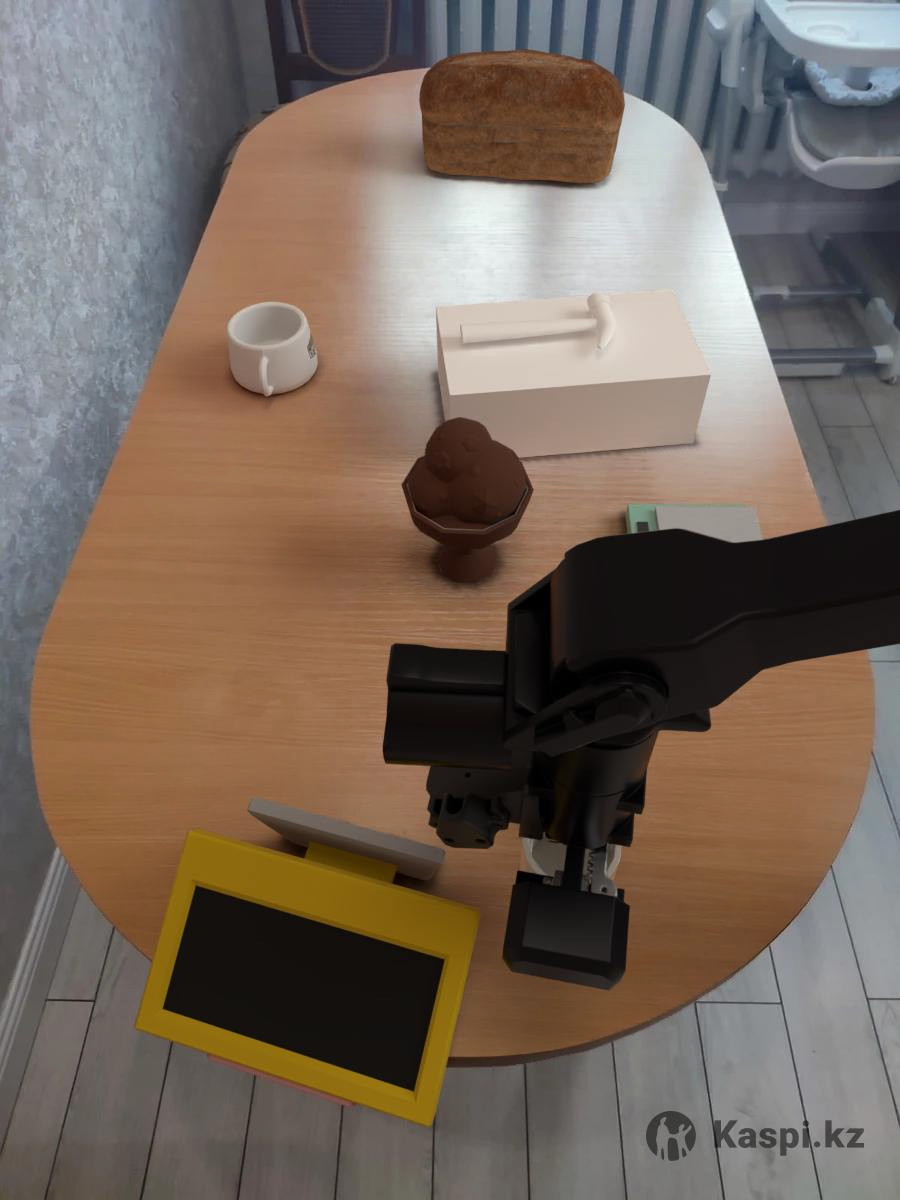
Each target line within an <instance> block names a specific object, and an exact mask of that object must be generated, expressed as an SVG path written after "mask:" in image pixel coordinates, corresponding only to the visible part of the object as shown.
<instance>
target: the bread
mask: <svg viewBox="0 0 900 1200" xmlns="http://www.w3.org/2000/svg"><path fill="white" fill-rule="evenodd" d="M418 97H419V98H418V103H419V109H420V112H421V131H422V132H421V133H422V149H423V159H424V163H425V165H426V167H428V169H430V170H431V171H433V172H436V173H440V174H445V175H452V176H475V177H476V176H477V177H489V178H490V177H492V178H499V179H500V178H501V179H507V180H516V181H517V180H529V181H530V180H536V181H553V182H564V183H571V184H591V183H592V184H593V183H599V182H603V181H604V180H605V179H606V178H607V177H608V176H609V175H610V173H611V171H612V167H613V163H614V159H615V154H616V151H617V149H618V148H617V147H618V141H619V136H620V130H621V127H622V122H623V118H624V113H625V107H626V102H625V92H624V91H623V87H622V85H621V83H620V81H619V79H618V77H617V76H615V74H614V73H612V72H611V71H609V70H608V69H607V68H605V67H603V66H602V65H600V64H598V63H596V62H595V61H592V60H591V59H585V58H584V59H582V58H576V57H573V56H570V55H566V54H560V53H553V52H545V51H540V50H536V49H528V48H525V49H512V50H489V51H473V52H462V53H457V54H452V55H450V56H447V57H445V58H442V59H440V60H439V61H437V62H436V63H435V64H433V66H431V67H430V69H428V70H427V71H426V73H425V74H424V76H423V78H422V82H421V85H420V87H419V96H418Z"/></svg>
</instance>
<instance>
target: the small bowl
mask: <svg viewBox="0 0 900 1200" xmlns="http://www.w3.org/2000/svg"><path fill="white" fill-rule="evenodd" d="M521 838H522V839H521V846H520V856H519V865H518V867H519V868H518V870H519V871H525V872H530V873H536V874H542V875H547V876H553V877H554V872H555V870H560V871H563V870H564V862H565V853H566V845H563V844H561V843H558V844H555V843H550V842H547V841H546V840H545V833H544V832H543V839H542V840H535V839H529V838H524V837H521ZM589 852H593V851H591V850H589V849H586V850H585V860H584V869H583V875H587V873H591V872H590V871H588V870H587V867H588V866H592V865H590V864H588V859H592V858H590V857H589V856H588V855H589ZM621 855H622V846H620V845H614V844H608V856H607V868H606V875H607V877H608V878H609V879H611V880H612V881H613V882H614V880H615V876H616V873H617V870H618V868H619V866H620V865H619V864H620V862H621V857H622V856H621ZM589 883H591V879H589Z"/></svg>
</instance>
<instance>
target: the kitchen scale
mask: <svg viewBox="0 0 900 1200" xmlns="http://www.w3.org/2000/svg"><path fill="white" fill-rule="evenodd" d="M624 516H625V517H624V518H625V526H626V534H629V533H637V532H646V531H655V530H664V529H672V528H682V529H686V530H690V531H693V532H697V533H700V534H704V535H708V536H711V537H715V538H718V539H722V540H726V541H729V542H733V543H736V542H745V541H754V540H763V539H764V538H763V534H762V529H761V525H760V521H759V518H758V512H757V509H756V507H749V506H747V507H746V505H745V504H687V503H686V504H684V503H683V504H682V503H676V504H675V503H671V504H669V503H668V504H667V503H665V504H664V503H628V504H627V505H626V511H625V515H624Z"/></svg>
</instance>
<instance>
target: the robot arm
mask: <svg viewBox="0 0 900 1200" xmlns="http://www.w3.org/2000/svg"><path fill="white" fill-rule="evenodd" d="M563 555H564V556H563V559H562V560H561V561H560V562H559V564H558V565H557V567H556V568H554V569H553V570H551V572H549V573H548V574H545V576H543V577H542V578H540V580H538V581H537V582H535V583H534V584H533V585H531V586H529V588H528V589H526V590H525V591H523V592H522V593H520V594H519V595H518V596H517V597H516V598H513V599H512V600H511V601H510V602H509V603H508V604H507V607H506V610H507V611H506V635H505V636H506V637H505V650H496V649H495V650H493V649H476V648H475V649H472V648H454V647H453V648H452V647H436V646H430V645H424V644H416V643H401V642H400V643H399V642H395V643H393V644H391V645H390V650H389V657H388V665H387V672H386V687H387V700H386V716H385V717H386V718H385V724H384V730H383V731H384V733H383V740H382V757H383V761H384V764H386V765H397V766H398V765H399V766H400V765H401V766H418V767H419V766H420V767H429V769H428V773H427V779H426V783H425V788H426V792H427V794H428V795H429V799H428V804H427V807H426V810H427V812H428V813H429V818H428V826H429V827H431V828H433V829H436V830H435V834H436V836H437V837H438V838H439V840H440V841H441V842H442V843H443V844H444V846H447V847H449V848H452V849H469V850H470V849H471V850H473V849H474V850H475V849H476V850H487V849H490V848H492V847H493V846H494V844H495V839H496V835H497V834H498V833H499V832H500V831H506V830H508V829H509V826H510V824H515V825H519V828H518V830H519V831H518V837H519V838H523V837H524V838H529V839H535V840H542V839H543V832H544V833H545V840H546V841H547V842H550V843H555V844H558V843H561V844H563V845H566V853H565V862H564V870H563V871H560V870H555V872H554V877H553V876H547V875H542V874H536V873H530V872H525V871H520V869H518V870H516V876H515V883H513V884H512V887H511V893H510V899H509V907H508V913H507V918H506V919H507V920H506V927H505V933H504V939H503V945H502V946H503V947H502V956H501V958H502V960H503V962H504V964H505V965H506V966H507V968H508V969H509V971H510V972H512V973H516V974H522V975H527V976H532V977H537V978H541V979H547V980H553V981H557V982H563V983H567V984H573V985H578V986H582V987H588V988H593V989H599V990H603V991H604V990H605V991H610V990H612V989H613V988H614V987H616V986H617V985H618V984H619V983H621V982H622V979H623V977H624V976H625V973H626V971H627V970H626V969H627V954H628V939H629V925H630V910H631V905H629V904H628V903H627V902H625V894H626V893H625V892H626V891H625V888H620V887H617V884H616V882H615V881H614V880H613V881H612V880H611V879H609V878H608V877H607V875H606V868H607V856H608V844H614V845H620V846H621V847H626V848H631V846H632V844H633V841H634V827H635V816H636V815H642V814H643V812H644V809H645V806H646V805H645V804H646V789H647V775H648V765H649V763H650V760H651V757H652V754H653V751H654V748H655V745H656V742H657V739H658V736H659V733H660V732H661V731H670V732H689V733H691V732H692V733H706V732H708V731H710V730H711V728H712V718H711V712H710V709H713V708H716V707H718V706H720V705H721V704H723V702H725V701H726V700H727V699H728V698H730V697H731V696H732V695H733V694H735V693H736V692H737V691H739V690H740V689H741V688H742V687H744V686H745V685H746V684H747V683H748V682H749V681H750V680H752V679H753V678H754V677H756V676H757V675H758V674H759V673H760V672H762V671H764V670H768V669H772V668H775V667H779V666H782V665H786V664H791V663H795V662H801V661H807V660H813V659H819V658H825V657H831V656H837V655H843V654H848V653H855V652H860V651H866V650H872V649H877V648H878V649H879V648H883V647H890V646H896V645H900V509H898V510H893V511H887V512H882V513H878V514H874V515H869V516H865V517H860V518H855V519H852V520H847V521H846V520H845V521H843V522H838V523H837V522H836V523H833V524H829V525H823V526H820V527H815V528H809V529H806V530H801V531H796V532H792V533H787V534H783V535H779V536H774V537H771V538H770V537H769V538H763V540H754V541H745V542H736V543H733V542H729V541H726V540H722V539H718V538H715V537H711V536H708V535H704V534H700V533H697V532H693V531H690V530H686V529H682V528H672V529H664V530H655V531H646V532H637V533H629V534H627V533H621V534H620V533H619V534H613V535H612V534H611V535H605V536H600V537H595V538H592V539H588V540H586V541H584V542H581V543H578V544H576V545H574V546H573V547H571V548H569V549H568V550H566V551H565V553H564V554H563ZM586 849H589V850H591V851H593V852H589V855H588V856H589V857H590V858H592V859H588V864H590V865H592V866H588V867H587V870H588V871H590V872H591V873H587V875H583V869H584V860H585V850H586ZM589 879H591V883H589Z"/></svg>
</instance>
